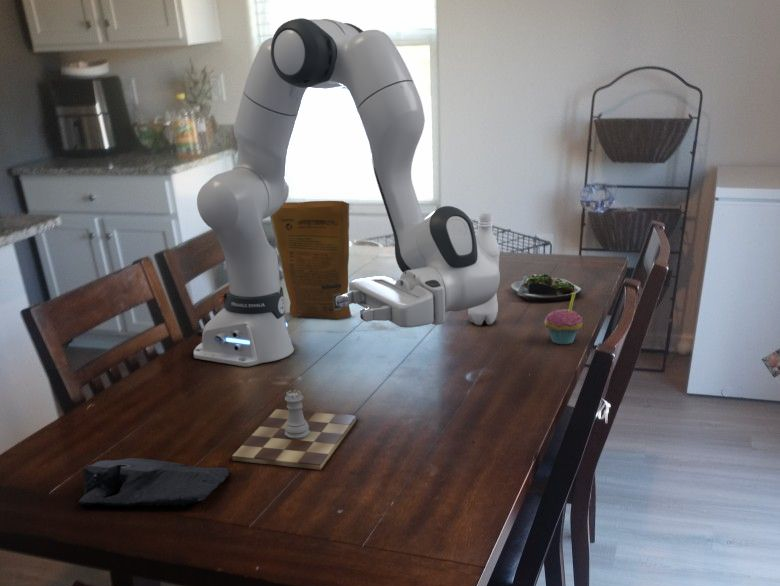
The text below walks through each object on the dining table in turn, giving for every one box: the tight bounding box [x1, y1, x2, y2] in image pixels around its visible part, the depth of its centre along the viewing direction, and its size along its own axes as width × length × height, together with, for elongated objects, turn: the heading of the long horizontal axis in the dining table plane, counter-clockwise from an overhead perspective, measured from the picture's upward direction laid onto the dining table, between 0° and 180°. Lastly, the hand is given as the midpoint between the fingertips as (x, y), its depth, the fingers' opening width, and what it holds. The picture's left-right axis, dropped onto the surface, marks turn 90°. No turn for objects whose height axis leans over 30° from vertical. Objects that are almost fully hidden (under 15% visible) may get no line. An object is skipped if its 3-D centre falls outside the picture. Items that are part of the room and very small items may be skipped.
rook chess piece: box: [284, 389, 310, 439], centre depth 148 cm, size 4×4×8 cm
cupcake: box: [544, 289, 585, 345], centre depth 187 cm, size 9×8×12 cm
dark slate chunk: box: [78, 457, 230, 508], centre depth 135 cm, size 15×22×5 cm
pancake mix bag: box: [269, 200, 352, 320], centre depth 204 cm, size 7×19×28 cm, turn 75°
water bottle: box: [467, 212, 501, 326], centre depth 197 cm, size 7×7×25 cm
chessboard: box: [231, 408, 357, 471], centre depth 150 cm, size 16×20×1 cm
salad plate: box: [511, 273, 582, 304], centre depth 222 cm, size 19×18×5 cm
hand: (349, 309), depth 144 cm, fingers open, 8 cm apart
